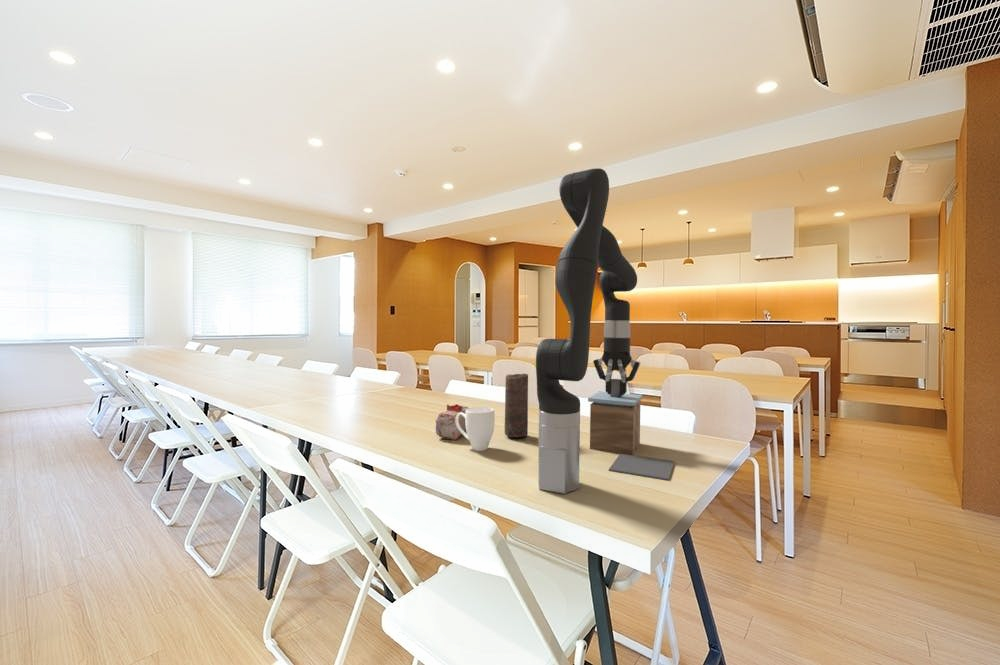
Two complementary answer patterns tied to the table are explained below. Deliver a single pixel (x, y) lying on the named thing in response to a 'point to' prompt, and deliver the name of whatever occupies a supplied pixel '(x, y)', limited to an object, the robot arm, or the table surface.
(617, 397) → the lid
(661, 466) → the mat
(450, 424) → the grey speckled jug shape
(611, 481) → the table surface
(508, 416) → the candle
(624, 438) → the box
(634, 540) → the table surface
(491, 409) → the mug
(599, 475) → the table surface
